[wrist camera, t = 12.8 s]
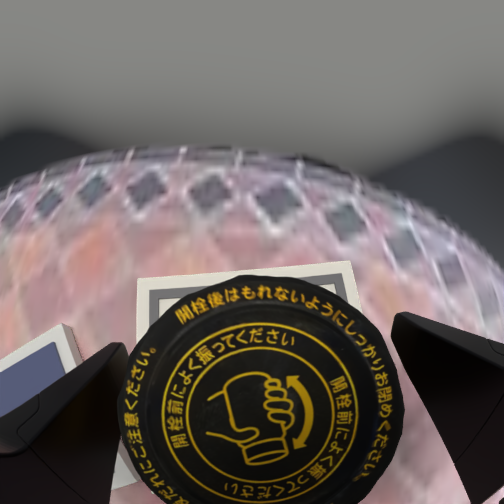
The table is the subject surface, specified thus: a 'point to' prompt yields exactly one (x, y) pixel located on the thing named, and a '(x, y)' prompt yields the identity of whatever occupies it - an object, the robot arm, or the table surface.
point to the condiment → (261, 397)
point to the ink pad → (50, 382)
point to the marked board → (176, 287)
